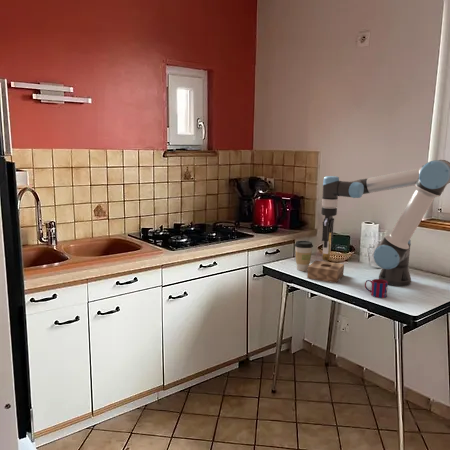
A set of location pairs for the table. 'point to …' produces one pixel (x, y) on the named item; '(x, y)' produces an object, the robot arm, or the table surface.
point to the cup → (378, 288)
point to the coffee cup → (303, 254)
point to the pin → (327, 256)
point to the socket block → (325, 271)
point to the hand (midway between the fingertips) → (326, 252)
